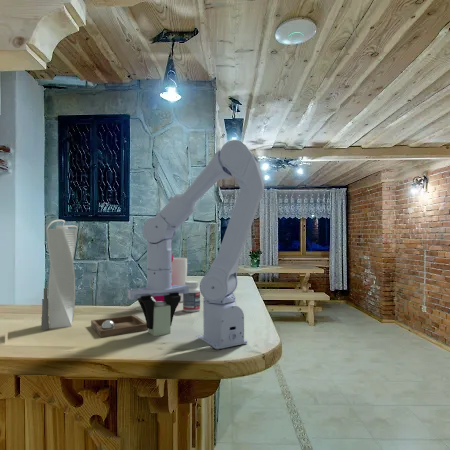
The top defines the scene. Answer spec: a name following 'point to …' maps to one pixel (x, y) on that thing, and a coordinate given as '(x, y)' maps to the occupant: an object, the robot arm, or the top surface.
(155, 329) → the spice tin
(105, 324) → the steel ball
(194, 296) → the pill bottle
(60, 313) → the skyscraper
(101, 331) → the tray
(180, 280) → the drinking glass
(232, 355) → the top surface
